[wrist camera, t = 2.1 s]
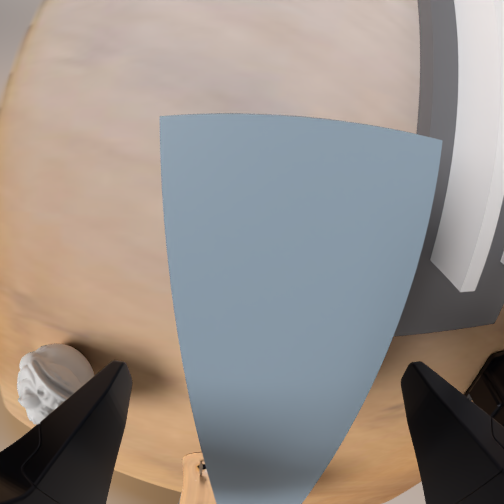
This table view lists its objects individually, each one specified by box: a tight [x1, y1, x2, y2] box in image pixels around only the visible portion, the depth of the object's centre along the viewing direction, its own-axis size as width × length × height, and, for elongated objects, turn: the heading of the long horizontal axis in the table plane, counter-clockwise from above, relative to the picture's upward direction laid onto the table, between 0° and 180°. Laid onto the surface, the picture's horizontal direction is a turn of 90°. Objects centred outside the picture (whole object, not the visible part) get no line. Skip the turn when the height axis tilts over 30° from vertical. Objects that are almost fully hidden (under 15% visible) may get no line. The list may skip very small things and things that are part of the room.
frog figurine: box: [17, 344, 94, 424], centre depth 15 cm, size 6×7×7 cm
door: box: [160, 113, 443, 504], centre depth 11 cm, size 4×14×10 cm, turn 178°
